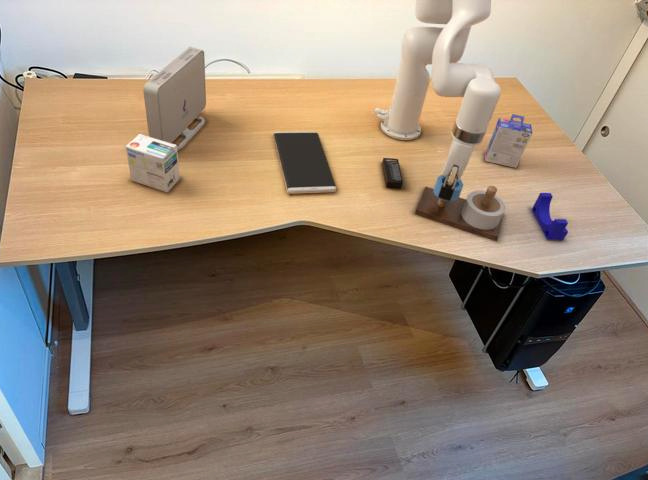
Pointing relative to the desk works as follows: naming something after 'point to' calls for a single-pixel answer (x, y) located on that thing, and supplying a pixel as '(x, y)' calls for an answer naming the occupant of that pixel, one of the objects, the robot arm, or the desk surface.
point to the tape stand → (466, 211)
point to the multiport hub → (392, 173)
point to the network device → (176, 97)
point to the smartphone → (303, 163)
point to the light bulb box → (153, 162)
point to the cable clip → (549, 218)
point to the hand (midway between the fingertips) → (447, 190)
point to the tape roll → (457, 187)
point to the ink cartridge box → (508, 141)
